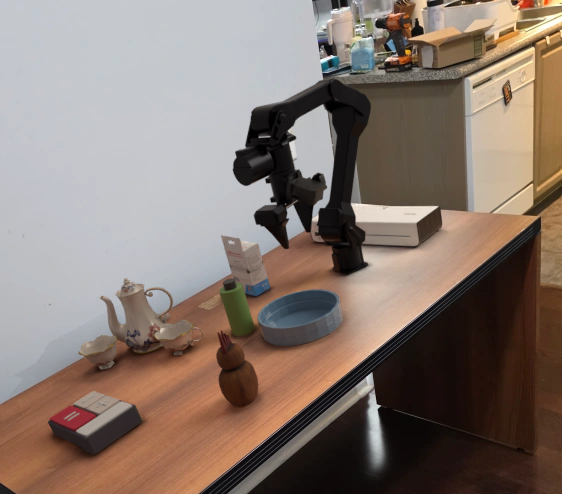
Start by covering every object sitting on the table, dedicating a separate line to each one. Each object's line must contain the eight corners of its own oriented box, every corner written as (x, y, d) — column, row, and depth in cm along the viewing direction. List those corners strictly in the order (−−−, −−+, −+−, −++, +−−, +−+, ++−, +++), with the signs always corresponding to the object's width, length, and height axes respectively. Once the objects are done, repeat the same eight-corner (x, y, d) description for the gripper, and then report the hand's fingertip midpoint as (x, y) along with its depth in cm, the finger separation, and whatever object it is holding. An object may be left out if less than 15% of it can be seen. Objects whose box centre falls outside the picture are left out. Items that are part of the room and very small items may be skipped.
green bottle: (249, 324, 143) (234, 274, 137) (259, 330, 139) (244, 279, 133) (229, 333, 142) (213, 283, 136) (238, 339, 138) (222, 288, 132)
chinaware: (82, 387, 140) (48, 323, 130) (96, 345, 153) (66, 284, 144) (207, 359, 137) (182, 291, 127) (210, 319, 151) (187, 254, 141)
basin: (315, 301, 145) (311, 282, 143) (360, 321, 131) (356, 301, 129) (249, 332, 140) (243, 313, 138) (288, 357, 126) (282, 336, 124)
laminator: (443, 229, 163) (440, 205, 160) (418, 249, 156) (414, 224, 153) (336, 226, 186) (331, 205, 182) (310, 244, 179) (305, 222, 175)
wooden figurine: (247, 414, 112) (222, 338, 104) (221, 410, 115) (195, 336, 108) (268, 392, 116) (246, 318, 109) (242, 389, 120) (219, 316, 112)
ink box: (271, 288, 158) (256, 230, 150) (256, 297, 156) (239, 238, 148) (251, 283, 164) (235, 227, 157) (235, 291, 162) (219, 235, 155)
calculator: (93, 388, 127) (134, 401, 116) (102, 406, 129) (143, 421, 118) (44, 418, 121) (83, 435, 110) (54, 437, 123) (93, 455, 112)
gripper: (288, 181, 124) (306, 258, 132) (336, 151, 136) (350, 223, 144) (243, 185, 131) (263, 258, 138) (292, 156, 143) (308, 224, 150)
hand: (298, 240), depth 143 cm, fingers open, 9 cm apart
